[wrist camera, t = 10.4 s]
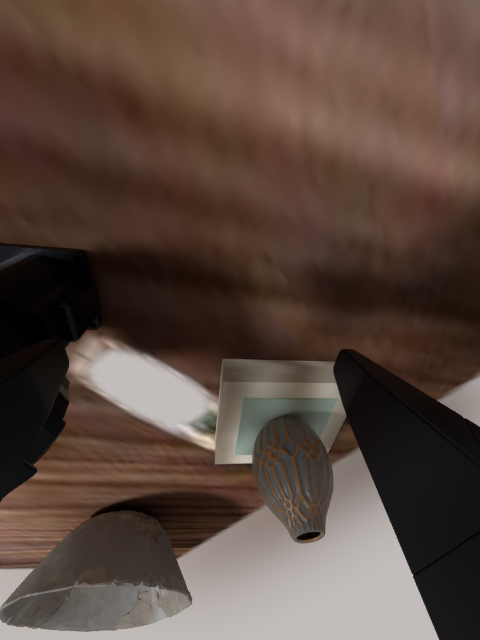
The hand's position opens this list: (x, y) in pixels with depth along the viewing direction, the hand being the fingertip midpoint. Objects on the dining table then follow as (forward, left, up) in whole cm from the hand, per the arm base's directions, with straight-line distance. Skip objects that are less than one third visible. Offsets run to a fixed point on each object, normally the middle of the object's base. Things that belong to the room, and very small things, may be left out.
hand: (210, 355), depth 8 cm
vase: (+8, -17, -9) cm, 21 cm away
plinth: (+8, -17, -12) cm, 22 cm away
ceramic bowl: (-12, -45, -12) cm, 48 cm away
